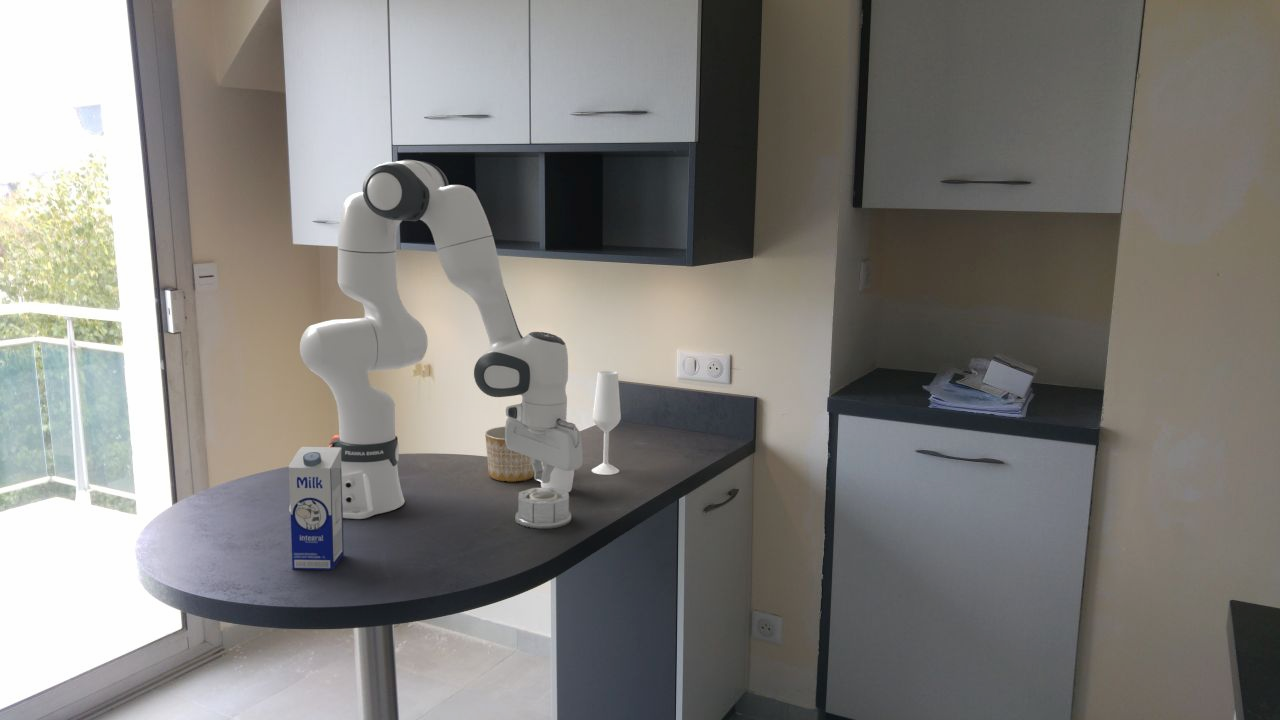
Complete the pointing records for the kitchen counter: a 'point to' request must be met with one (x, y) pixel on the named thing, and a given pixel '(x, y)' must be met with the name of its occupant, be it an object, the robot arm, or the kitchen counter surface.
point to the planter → (506, 459)
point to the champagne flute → (606, 413)
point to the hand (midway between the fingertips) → (542, 481)
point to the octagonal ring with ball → (543, 510)
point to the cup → (560, 480)
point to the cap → (543, 496)
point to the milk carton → (316, 508)
